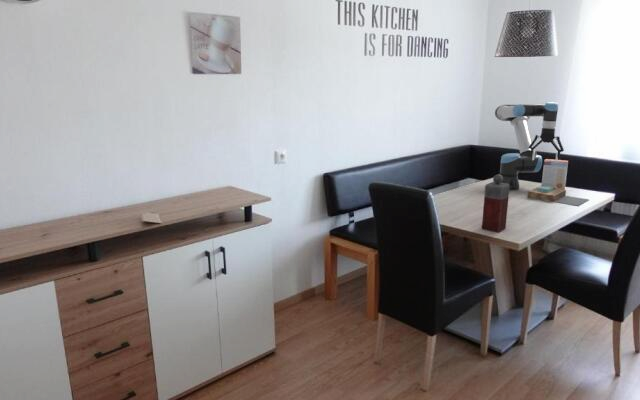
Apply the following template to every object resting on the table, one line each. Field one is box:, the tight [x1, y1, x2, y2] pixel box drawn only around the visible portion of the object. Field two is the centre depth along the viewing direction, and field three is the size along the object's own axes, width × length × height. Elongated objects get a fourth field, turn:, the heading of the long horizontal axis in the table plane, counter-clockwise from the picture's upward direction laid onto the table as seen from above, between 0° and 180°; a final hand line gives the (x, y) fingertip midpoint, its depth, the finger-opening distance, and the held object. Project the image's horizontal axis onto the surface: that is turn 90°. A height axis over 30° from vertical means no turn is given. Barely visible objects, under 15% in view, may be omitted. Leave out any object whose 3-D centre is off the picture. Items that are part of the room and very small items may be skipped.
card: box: [538, 186, 553, 192], centre depth 303 cm, size 6×9×2 cm, turn 135°
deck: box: [527, 186, 567, 203], centre depth 303 cm, size 16×20×4 cm
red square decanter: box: [481, 173, 510, 234], centre depth 239 cm, size 9×11×28 cm
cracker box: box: [540, 158, 569, 190], centre depth 316 cm, size 14×6×21 cm, turn 58°
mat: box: [553, 195, 590, 207], centre depth 294 cm, size 14×20×1 cm
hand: (544, 161), depth 304 cm, fingers open, 13 cm apart
